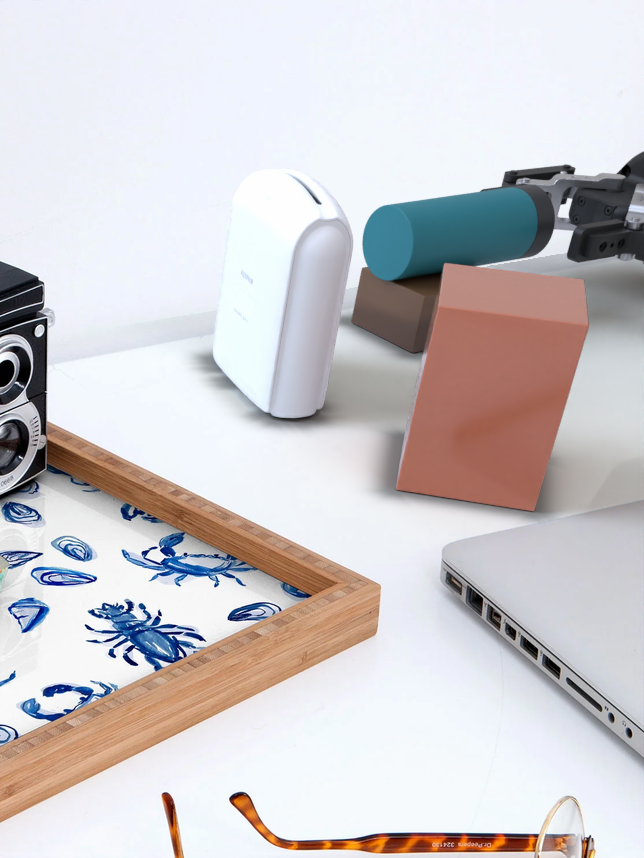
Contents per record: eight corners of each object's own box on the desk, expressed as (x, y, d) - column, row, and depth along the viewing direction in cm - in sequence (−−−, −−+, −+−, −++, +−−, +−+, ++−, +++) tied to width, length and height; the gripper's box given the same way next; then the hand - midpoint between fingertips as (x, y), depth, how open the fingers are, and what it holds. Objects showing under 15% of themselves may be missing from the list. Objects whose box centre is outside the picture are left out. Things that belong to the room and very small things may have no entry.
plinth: (533, 457, 81) (584, 279, 75) (534, 512, 76) (589, 325, 70) (403, 437, 83) (444, 262, 77) (395, 490, 77) (438, 305, 72)
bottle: (412, 281, 91) (413, 203, 89) (361, 280, 95) (361, 205, 93) (553, 257, 96) (556, 183, 94) (499, 257, 100) (501, 186, 98)
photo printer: (201, 356, 92) (229, 152, 85) (265, 352, 93) (298, 150, 86) (261, 423, 84) (298, 204, 77) (331, 419, 85) (374, 202, 77)
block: (412, 353, 93) (425, 296, 91) (350, 322, 98) (361, 267, 95) (488, 338, 96) (502, 282, 94) (424, 308, 100) (437, 254, 98)
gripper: (632, 118, 105) (461, 139, 99) (806, 169, 95) (627, 196, 89) (601, 224, 109) (435, 250, 103) (765, 283, 99) (591, 317, 93)
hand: (524, 225), depth 96 cm, fingers open, 8 cm apart
